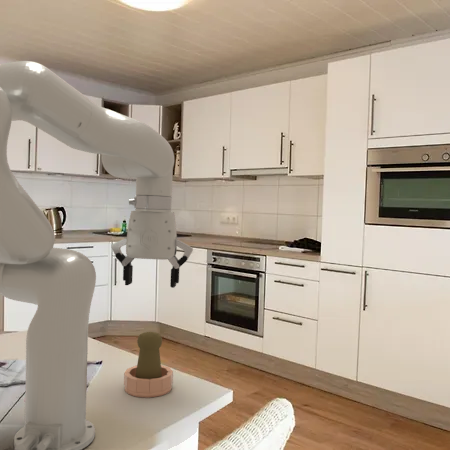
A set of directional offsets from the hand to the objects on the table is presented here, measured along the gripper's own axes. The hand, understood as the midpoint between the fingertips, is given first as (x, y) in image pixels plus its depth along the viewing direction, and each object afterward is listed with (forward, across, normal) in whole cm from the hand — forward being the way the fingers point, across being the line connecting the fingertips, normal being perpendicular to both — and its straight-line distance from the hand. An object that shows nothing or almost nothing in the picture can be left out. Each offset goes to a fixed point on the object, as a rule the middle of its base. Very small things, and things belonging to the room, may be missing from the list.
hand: (150, 285), depth 101 cm
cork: (+21, 0, 0) cm, 21 cm away
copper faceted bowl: (+22, 0, 0) cm, 22 cm away
